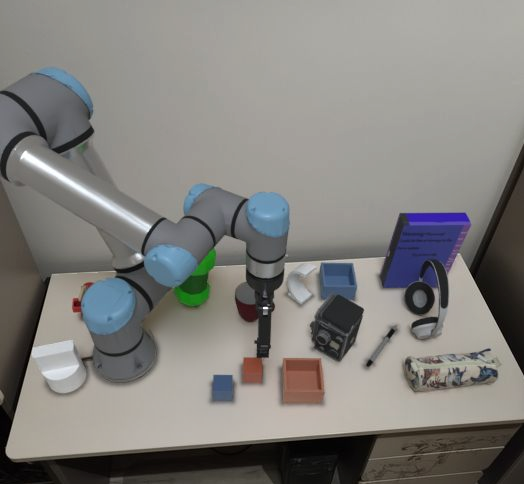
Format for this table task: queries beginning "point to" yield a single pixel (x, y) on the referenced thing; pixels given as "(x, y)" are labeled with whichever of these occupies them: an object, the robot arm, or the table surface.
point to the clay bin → (302, 380)
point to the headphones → (428, 301)
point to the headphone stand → (299, 282)
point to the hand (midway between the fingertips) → (261, 331)
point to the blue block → (222, 387)
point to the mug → (246, 302)
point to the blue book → (422, 246)
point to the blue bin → (337, 280)
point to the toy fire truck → (80, 298)
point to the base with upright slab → (60, 365)
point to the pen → (381, 346)
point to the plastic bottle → (197, 283)
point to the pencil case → (451, 370)
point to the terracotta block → (252, 370)
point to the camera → (336, 326)
